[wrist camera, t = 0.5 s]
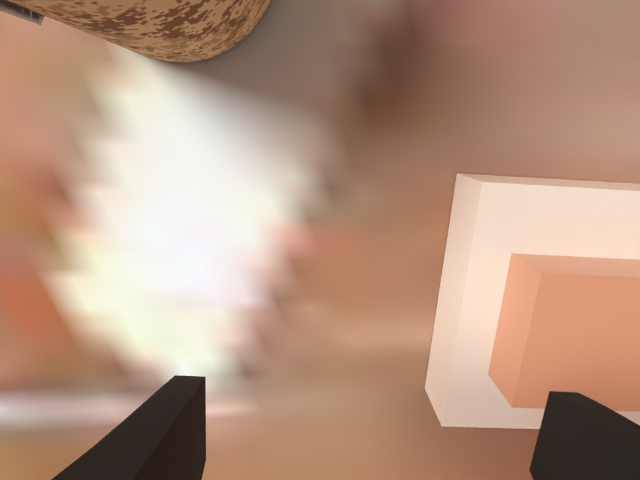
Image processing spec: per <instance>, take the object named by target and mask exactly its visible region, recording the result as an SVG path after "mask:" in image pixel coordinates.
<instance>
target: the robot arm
mask: <svg viewBox="0 0 640 480" xmlns="http://www.w3.org/2000/svg"><path fill="white" fill-rule="evenodd" d="M205 461H206V405H205V377H198V376H174V377H173V378H172V379H170V380H169V381H168V382H167V383H166V384H165V385H163V386H162V387H161V388H160V389H159V390H158V391H157V392H155V393H154V394H153V395H152V396H151V397H150V398H149V399H148V400H147V401H145V402H144V403H143V404H142V405H141V406H140V407H139V408H138V409H136V410H135V411H134V412H133V413H132V414H131V415H130V416H128V417H127V418H126V419H125V420H124V421H123V422H122V423H120V424H119V425H118V426H117V427H116V428H114V429H113V430H112V431H111V432H110V433H109V434H107V435H106V436H105V437H104V438H103V439H102V440H100V441H99V442H98V443H97V444H96V445H94V446H93V447H92V448H91V449H90V450H88V451H87V452H86V453H85V454H83V455H82V456H81V457H80V458H78V459H77V460H76V461H75V462H73V463H72V464H71V465H69V466H68V467H67V468H66V469H64V470H63V471H62V472H61V473H59V474H58V475H57V476H55V477H54V478H53V479H52V480H201V479H202V474H203V470H204V465H205ZM530 472H531V475H532V477H533V479H534V480H640V425H638V424H636V423H635V422H633V421H631V420H629V419H628V418H626V417H624V416H622V415H620V414H619V413H617V412H615V411H613V410H611V409H610V408H608V407H606V406H604V405H602V404H600V403H598V402H596V401H594V400H593V399H591V398H588V397H586V396H584V395H582V394H580V393H578V392H558V391H549V395H548V399H547V403H546V407H545V411H544V415H543V419H542V422H541V426H540V430H539V434H538V438H537V442H536V446H535V450H534V454H533V458H532V462H531V466H530Z"/></svg>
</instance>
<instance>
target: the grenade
mask: <svg viewBox="0 0 640 480" xmlns="http://www.w3.org/2000/svg"><path fill="white" fill-rule="evenodd" d="M270 3H271V0H0V11H3V12H6V13H9V14H12V15H14V16H17V17H20V18H23V19H25V20H28V21H31V22H34V23H36V24H39V25H41V23H42V21H43V19H44V16H47V17H50V18H52V19H55V20H57V21H60V22H62V23H65V24H67V25H70V26H72V27H74V28H77V29H79V30H82V31H84V32H87V33H89V34H92V35H94V36H97V37H99V38H102V39H104V40H107V41H109V42H112V43H114V44H117V45H119V46H122V47H124V48H127V49H129V50H132V51H134V52H137V53H139V54H141V55H144V56H147V57H151V58H154V59H158V60H161V61H166V62H175V63H183V62H198V61H202V60H207V59H210V58H213V57H215V56H217V55H220V54H222V53H225V52H227V51H228V50H230V49H231V48H233V47H235V46H236V45H238V44H239V43H240V42H241V41H242V40H243V39H244V38H245V37H246V36H248V35H249V34H250V33H251V32H252V31H253V30H254V28H255V27H256V26H257V25H258V23H259V22H260V21H261V19H262V17H263V15H264V14H265V12H266V10H267V8H268V6H269V5H270Z"/></svg>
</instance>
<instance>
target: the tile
mask: <svg viewBox="0 0 640 480" xmlns="http://www.w3.org/2000/svg"><path fill="white" fill-rule="evenodd" d="M488 375H489V376H490V378H491V379H492V381H493V382H494V383H495V385H496V386H497V388H498V389H499V390H500V392H501V393H502V394H503V396H504V397H505V399H506V400H507V401H508V403H509V404H510V406H511V407H512V408H538V409H545V407H546V403H547V399H548V395H549V391H558V392H578V393H580V394H582V395H584V396H586V397H588V398H591V399H593V400H594V401H596V402H598V403H600V404H602V405H604V406H606V407H608V408H610V409H611V410H613V411H636V412H640V260H636V259H616V258H595V257H575V256H554V255H534V254H513V253H511V258H510V263H509V268H508V273H507V279H506V284H505V289H504V294H503V299H502V304H501V309H500V315H499V320H498V325H497V330H496V335H495V340H494V345H493V350H492V356H491V361H490V366H489V371H488Z"/></svg>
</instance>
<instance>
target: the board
mask: <svg viewBox="0 0 640 480" xmlns="http://www.w3.org/2000/svg"><path fill="white" fill-rule="evenodd" d="M511 253H513V254H534V255H554V256H575V257H595V258H616V259H636V260H640V184H634V183H617V182H600V181H582V180H565V179H548V178H530V177H513V176H496V175H478V174H461V173H457V176H456V183H455V189H454V196H453V203H452V209H451V216H450V223H449V230H448V236H447V243H446V250H445V256H444V263H443V270H442V277H441V283H440V290H439V297H438V303H437V310H436V317H435V324H434V330H433V337H432V344H431V350H430V357H429V364H428V371H427V377H426V384H425V390H426V392H427V395H428V397H429V399H430V401H431V404H432V406H433V408H434V410H435V413H436V415H437V417H438V419H439V422H440V424H441V426H447V427H483V428H519V429H540V426H541V422H542V419H543V415H544V411H545V409H538V408H512V407H511V406H510V404H509V403H508V401H507V400H506V399H505V397H504V396H503V394H502V393H501V392H500V390H499V389H498V388H497V386H496V385H495V383H494V382H493V381H492V379H491V378H490V376H489V375H488V371H489V366H490V361H491V356H492V350H493V345H494V340H495V335H496V330H497V325H498V320H499V315H500V309H501V304H502V299H503V294H504V289H505V284H506V279H507V273H508V268H509V263H510V258H511ZM615 412H617V413H619V414H620V415H622V416H624V417H626V418H628V419H629V420H631V421H633V422H635V423H636V424H638V425H640V412H636V411H615Z"/></svg>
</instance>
